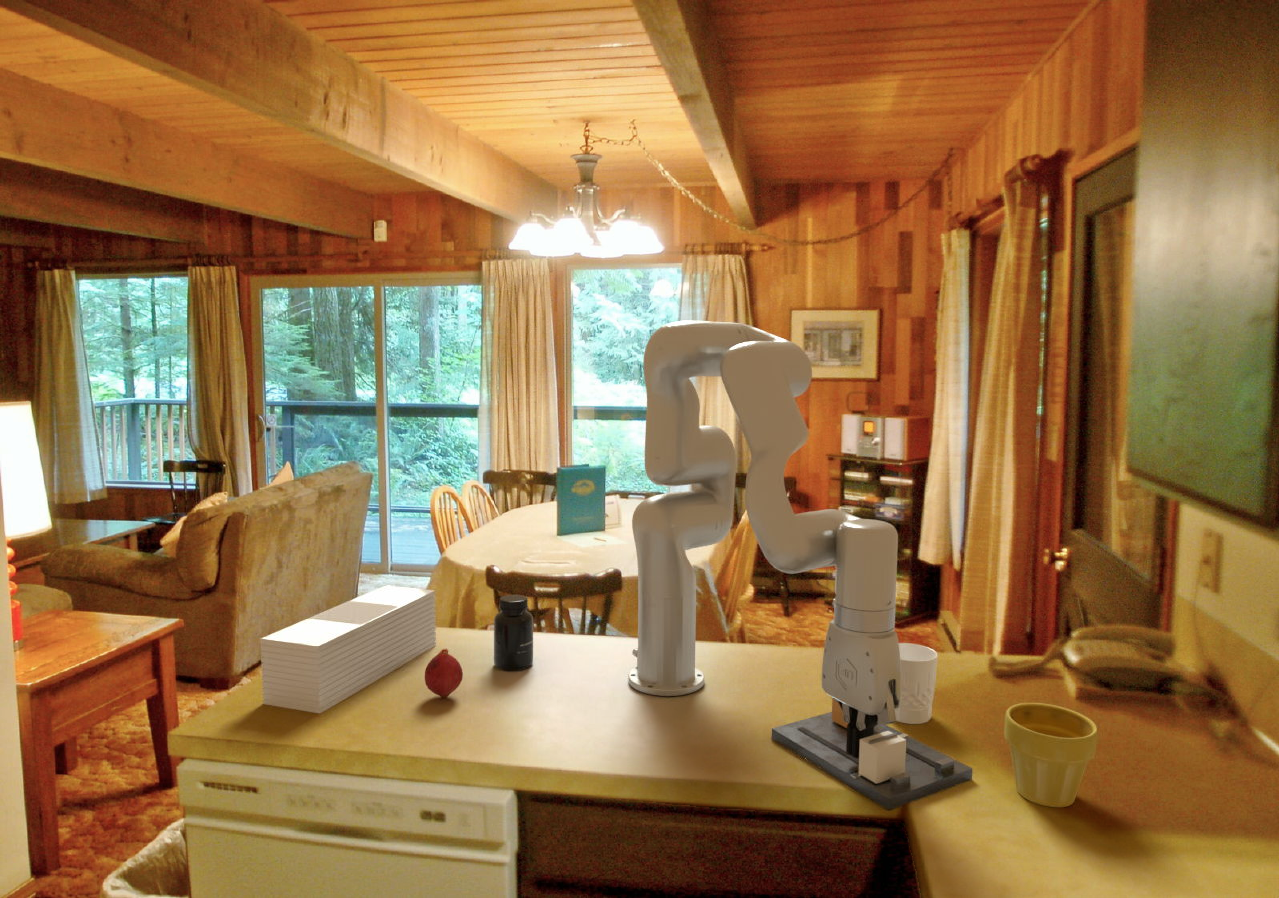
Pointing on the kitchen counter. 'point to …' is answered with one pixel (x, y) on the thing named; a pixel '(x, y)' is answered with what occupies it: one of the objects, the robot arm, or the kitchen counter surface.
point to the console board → (828, 751)
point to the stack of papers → (346, 648)
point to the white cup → (916, 683)
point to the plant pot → (1049, 751)
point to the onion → (443, 674)
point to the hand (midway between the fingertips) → (859, 753)
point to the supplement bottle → (513, 634)
